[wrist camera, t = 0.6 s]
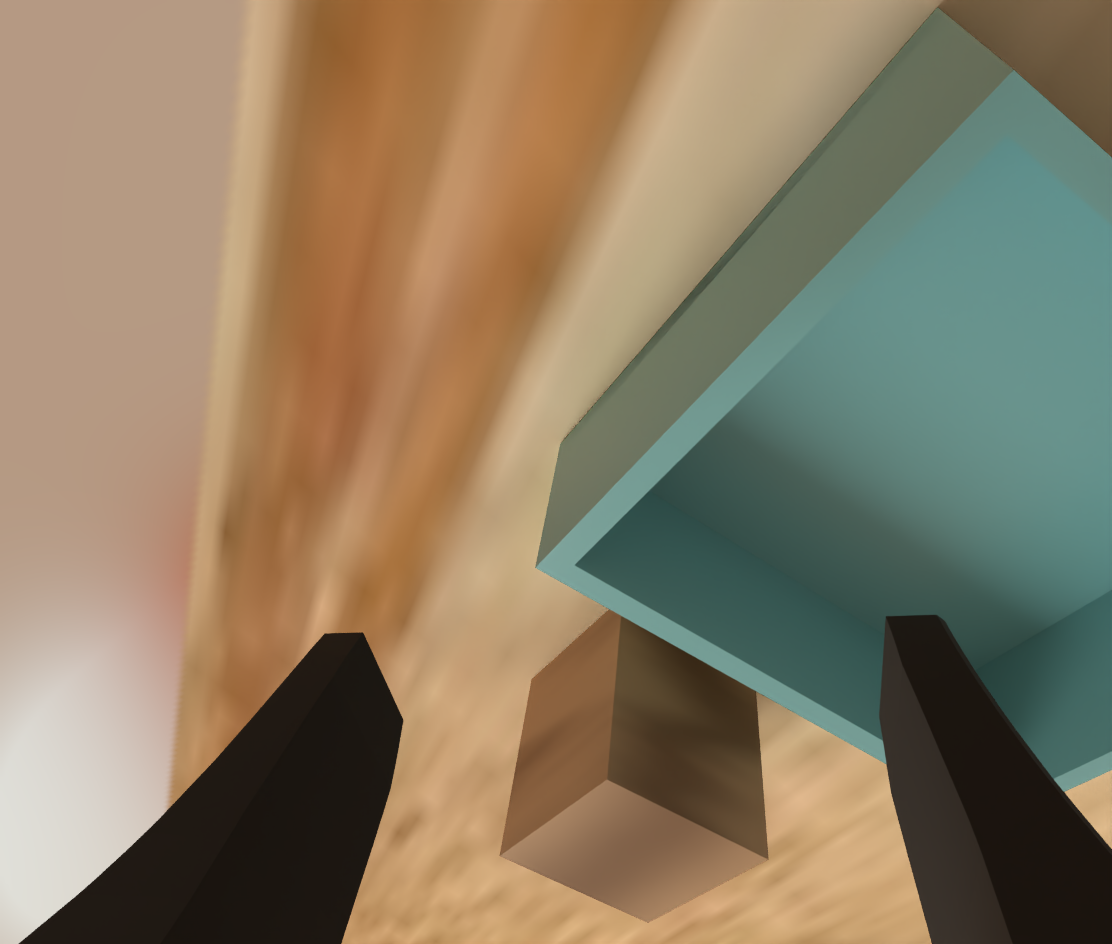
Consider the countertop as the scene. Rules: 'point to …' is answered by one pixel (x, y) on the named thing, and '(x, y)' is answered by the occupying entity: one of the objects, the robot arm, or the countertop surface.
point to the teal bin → (881, 420)
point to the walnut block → (637, 773)
